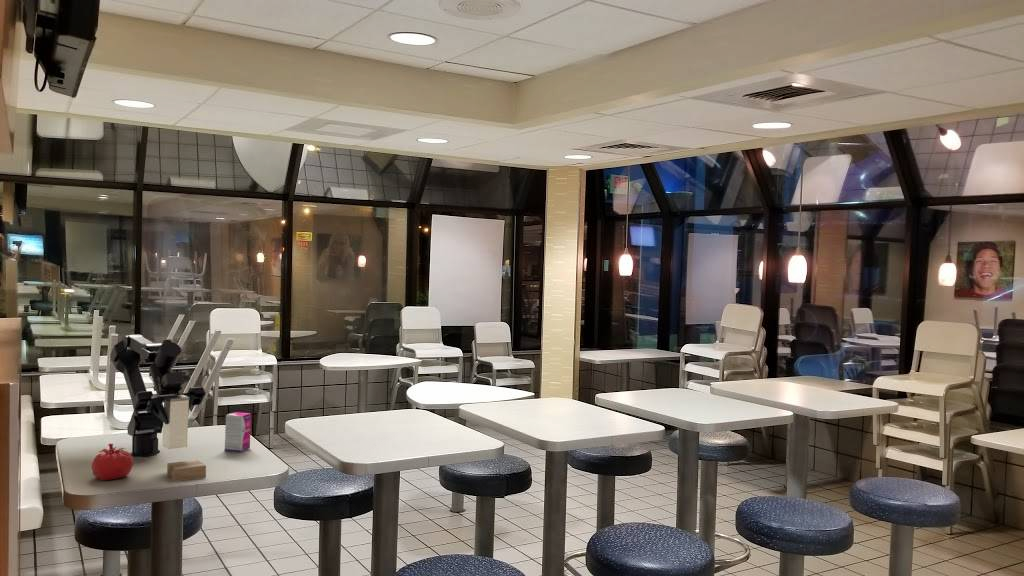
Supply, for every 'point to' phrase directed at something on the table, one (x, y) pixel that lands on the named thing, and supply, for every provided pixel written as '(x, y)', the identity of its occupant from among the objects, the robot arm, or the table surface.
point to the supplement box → (237, 431)
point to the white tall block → (176, 421)
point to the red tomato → (112, 464)
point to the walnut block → (186, 470)
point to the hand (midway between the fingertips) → (177, 422)
